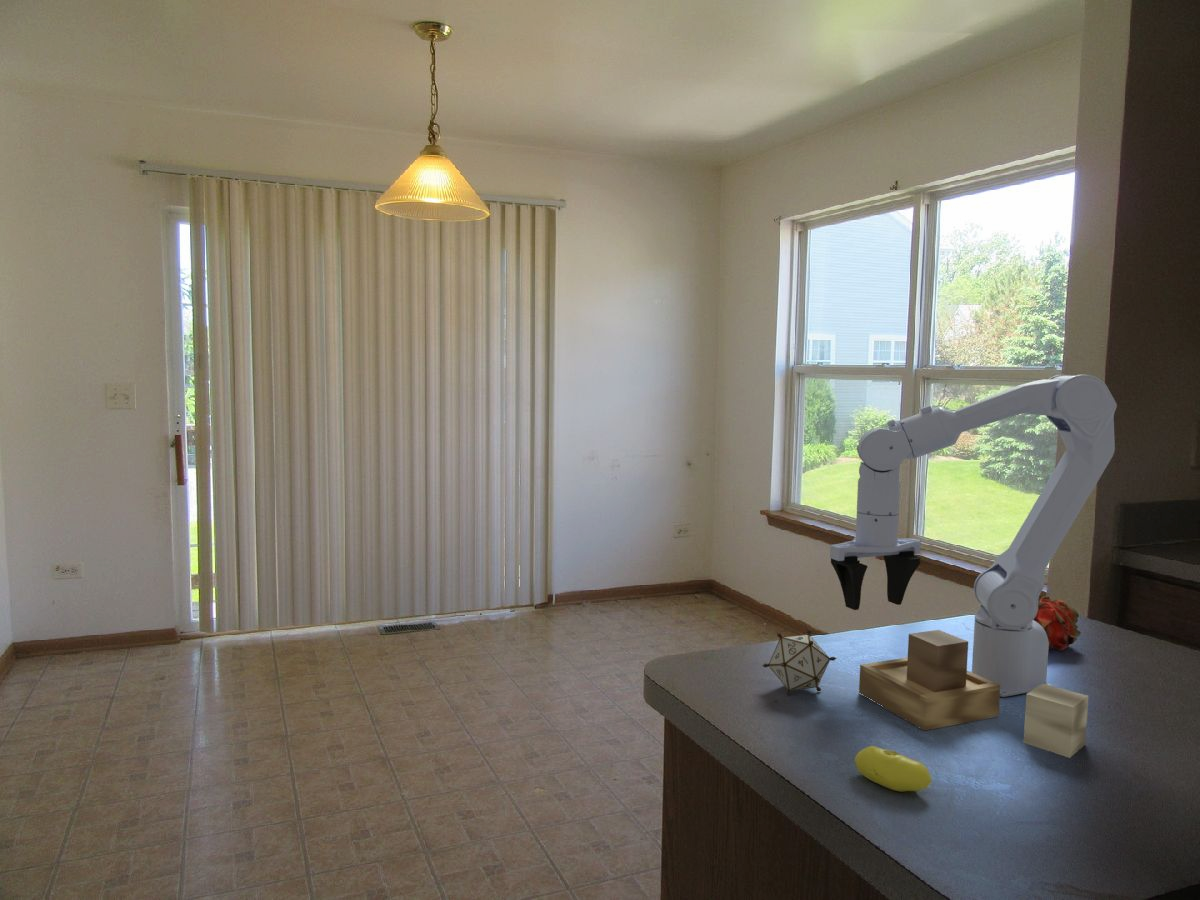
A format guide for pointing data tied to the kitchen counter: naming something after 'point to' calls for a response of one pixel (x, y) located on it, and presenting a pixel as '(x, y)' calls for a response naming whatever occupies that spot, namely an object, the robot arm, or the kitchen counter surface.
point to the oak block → (928, 696)
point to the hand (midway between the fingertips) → (873, 605)
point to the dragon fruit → (1057, 622)
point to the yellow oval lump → (892, 769)
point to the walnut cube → (937, 660)
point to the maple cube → (1055, 720)
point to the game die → (799, 662)
